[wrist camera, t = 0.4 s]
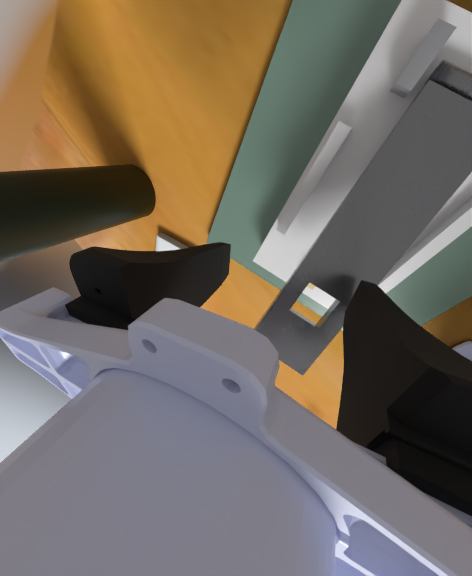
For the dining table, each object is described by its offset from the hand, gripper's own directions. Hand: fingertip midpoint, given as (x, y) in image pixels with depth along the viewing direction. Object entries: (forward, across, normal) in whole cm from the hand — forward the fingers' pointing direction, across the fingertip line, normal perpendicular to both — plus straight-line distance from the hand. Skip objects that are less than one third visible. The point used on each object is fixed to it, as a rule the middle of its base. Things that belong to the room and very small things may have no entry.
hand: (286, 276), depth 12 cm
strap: (+3, -3, -2) cm, 5 cm away
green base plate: (+10, -3, -2) cm, 11 cm away
